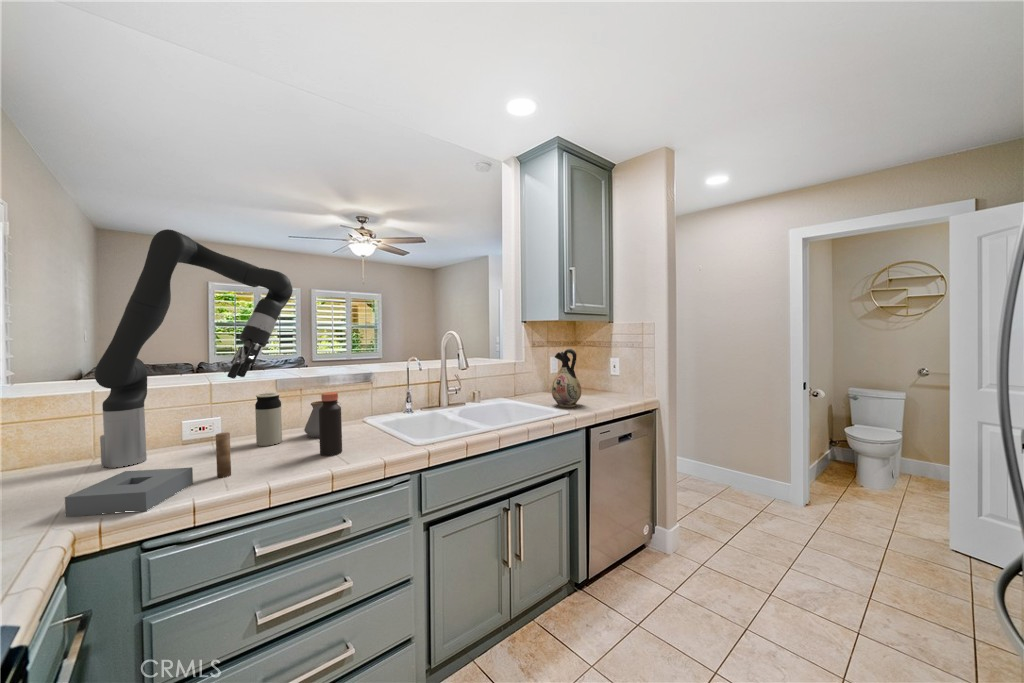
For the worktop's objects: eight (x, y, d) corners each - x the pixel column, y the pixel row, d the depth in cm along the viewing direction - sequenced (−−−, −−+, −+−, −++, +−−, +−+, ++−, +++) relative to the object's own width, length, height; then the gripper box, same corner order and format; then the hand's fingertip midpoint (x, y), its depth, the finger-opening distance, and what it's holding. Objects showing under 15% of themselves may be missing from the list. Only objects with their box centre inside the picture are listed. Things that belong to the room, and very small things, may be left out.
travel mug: (267, 447, 137) (265, 396, 136) (251, 445, 140) (249, 395, 139) (287, 441, 144) (285, 393, 144) (271, 439, 147) (270, 392, 147)
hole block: (65, 517, 87) (64, 497, 87) (125, 488, 103) (124, 471, 103) (146, 511, 89) (145, 492, 89) (193, 483, 105) (192, 467, 105)
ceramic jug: (545, 406, 203) (545, 349, 202) (561, 402, 215) (561, 347, 214) (574, 410, 192) (573, 350, 191) (589, 405, 204) (589, 348, 203)
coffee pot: (299, 435, 152) (298, 397, 152) (329, 429, 161) (328, 393, 160) (322, 446, 138) (321, 404, 138) (354, 439, 147) (353, 399, 146)
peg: (214, 478, 109) (212, 435, 108) (221, 474, 112) (219, 432, 112) (227, 477, 109) (225, 435, 109) (233, 473, 113) (232, 432, 112)
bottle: (315, 455, 128) (313, 394, 127) (331, 449, 134) (330, 391, 134) (330, 457, 126) (329, 395, 125) (346, 451, 132) (345, 392, 131)
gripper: (238, 327, 128) (214, 374, 121) (253, 321, 119) (228, 371, 112) (262, 337, 133) (240, 382, 126) (278, 332, 124) (256, 380, 117)
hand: (235, 377), depth 119 cm, fingers open, 8 cm apart
